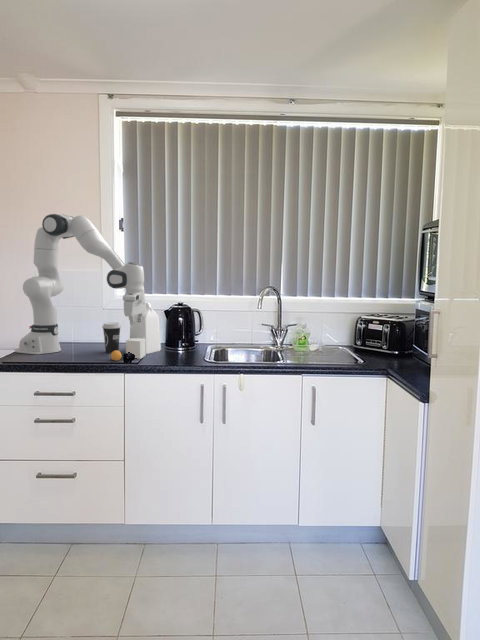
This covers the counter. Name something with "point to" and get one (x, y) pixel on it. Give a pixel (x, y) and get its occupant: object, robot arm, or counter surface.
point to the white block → (136, 347)
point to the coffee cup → (111, 336)
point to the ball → (116, 355)
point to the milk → (147, 330)
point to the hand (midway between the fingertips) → (135, 323)
